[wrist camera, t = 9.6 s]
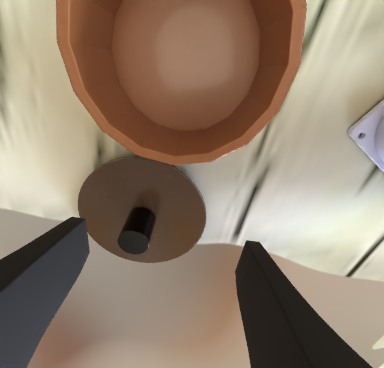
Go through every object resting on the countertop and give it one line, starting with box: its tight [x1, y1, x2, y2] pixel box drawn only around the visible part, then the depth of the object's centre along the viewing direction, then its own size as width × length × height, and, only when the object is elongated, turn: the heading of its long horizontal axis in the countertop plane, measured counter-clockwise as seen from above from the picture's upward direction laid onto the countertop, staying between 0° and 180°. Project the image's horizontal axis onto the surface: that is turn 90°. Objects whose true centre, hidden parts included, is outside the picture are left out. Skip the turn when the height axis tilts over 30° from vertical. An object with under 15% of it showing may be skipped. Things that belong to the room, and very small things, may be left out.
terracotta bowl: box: [56, 0, 307, 165], centre depth 13 cm, size 11×11×6 cm
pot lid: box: [78, 156, 206, 263], centre depth 20 cm, size 12×12×4 cm
